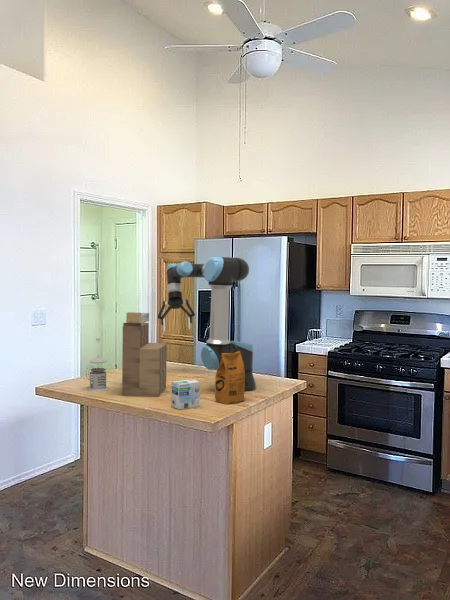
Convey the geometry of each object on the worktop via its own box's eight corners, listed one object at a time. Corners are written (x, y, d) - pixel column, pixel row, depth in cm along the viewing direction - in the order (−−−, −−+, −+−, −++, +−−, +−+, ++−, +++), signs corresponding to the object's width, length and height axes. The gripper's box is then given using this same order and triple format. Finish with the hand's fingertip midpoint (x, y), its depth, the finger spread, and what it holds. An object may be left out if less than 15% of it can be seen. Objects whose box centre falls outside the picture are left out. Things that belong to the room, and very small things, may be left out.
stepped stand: (132, 386, 258) (132, 319, 257) (166, 387, 258) (166, 320, 256) (122, 395, 239) (122, 323, 237) (158, 396, 238) (159, 324, 236)
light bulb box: (178, 410, 215) (179, 384, 215) (170, 406, 221) (170, 381, 220) (200, 406, 222) (200, 381, 221) (191, 403, 227) (192, 378, 227)
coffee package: (211, 400, 232) (212, 351, 231) (234, 397, 239) (234, 349, 238) (224, 405, 224) (225, 354, 223) (247, 401, 231) (248, 352, 230)
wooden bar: (139, 320, 268) (139, 308, 268) (151, 320, 268) (151, 309, 267) (126, 325, 240) (126, 312, 240) (139, 326, 240) (139, 313, 239)
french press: (112, 388, 253) (112, 337, 252) (94, 393, 243) (94, 340, 242) (98, 386, 258) (98, 336, 257) (80, 390, 249) (80, 338, 247)
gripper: (197, 292, 290) (200, 329, 286) (152, 295, 289) (154, 332, 284) (197, 288, 283) (200, 327, 279) (151, 292, 281) (153, 330, 277)
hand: (177, 330), depth 281 cm, fingers open, 13 cm apart
